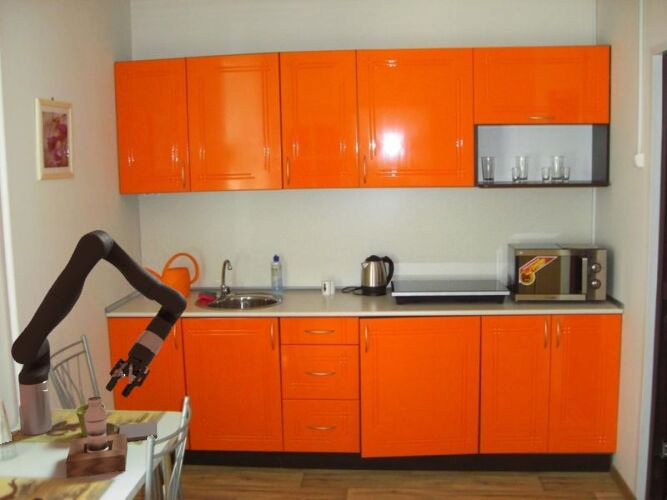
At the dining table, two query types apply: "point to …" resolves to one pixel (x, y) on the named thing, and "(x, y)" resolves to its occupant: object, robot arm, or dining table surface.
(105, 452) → the pocket block
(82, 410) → the plant pot
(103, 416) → the plastic bottle
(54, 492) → the dining table surface
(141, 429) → the slate mat
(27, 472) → the dining table surface
